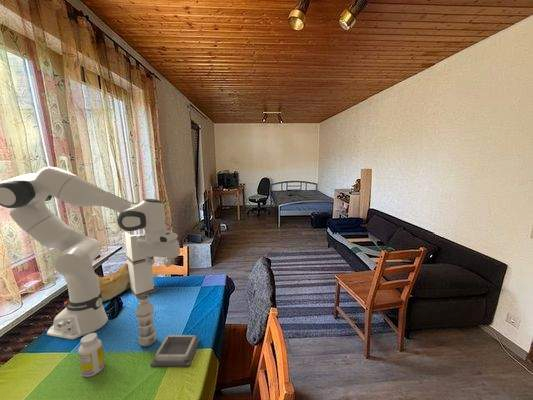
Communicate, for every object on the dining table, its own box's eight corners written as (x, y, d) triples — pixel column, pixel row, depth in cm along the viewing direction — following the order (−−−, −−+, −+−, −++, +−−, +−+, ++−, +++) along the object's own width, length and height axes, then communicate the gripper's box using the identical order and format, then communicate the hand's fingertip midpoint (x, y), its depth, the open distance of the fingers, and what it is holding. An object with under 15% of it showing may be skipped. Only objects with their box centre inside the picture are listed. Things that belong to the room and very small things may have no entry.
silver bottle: (150, 350, 94) (145, 303, 91) (135, 347, 95) (130, 301, 92) (160, 338, 100) (156, 294, 97) (146, 336, 102) (142, 292, 99)
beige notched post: (156, 291, 138) (151, 232, 133) (136, 298, 131) (130, 236, 126) (149, 284, 147) (145, 228, 141) (130, 290, 139) (124, 232, 134)
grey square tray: (150, 366, 86) (150, 358, 86) (166, 340, 99) (165, 333, 99) (189, 367, 86) (188, 358, 85) (199, 340, 99) (199, 333, 98)
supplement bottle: (101, 359, 90) (97, 328, 88) (107, 368, 86) (103, 336, 84) (79, 371, 85) (74, 338, 83) (84, 381, 81) (80, 347, 79)
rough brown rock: (126, 281, 152) (122, 259, 150) (140, 286, 142) (136, 262, 141) (83, 300, 132) (78, 275, 130) (97, 307, 123) (91, 280, 121)
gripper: (130, 236, 104) (134, 266, 106) (172, 238, 99) (175, 270, 101) (141, 232, 110) (144, 261, 112) (180, 234, 105) (183, 264, 108)
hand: (159, 265), depth 107 cm, fingers open, 8 cm apart
